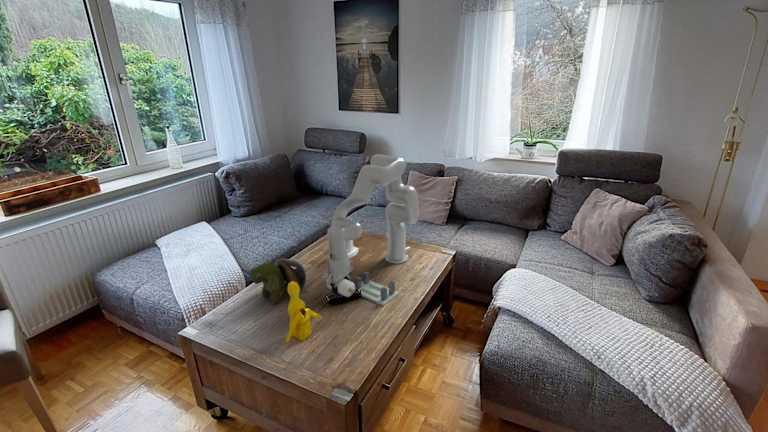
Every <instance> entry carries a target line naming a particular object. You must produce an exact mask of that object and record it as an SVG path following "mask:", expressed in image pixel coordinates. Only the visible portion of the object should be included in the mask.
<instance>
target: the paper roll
mask: <svg viewBox="0 0 768 432" xmlns="http://www.w3.org/2000/svg"><path fill="white" fill-rule="evenodd" d="M334 283H335V282H333V284H334ZM326 287H327V289H330V290H331V291H332V286H330V285H328V284H327V283H326ZM337 287H338V294H340V295H342V296H343V297H346V298H350V297H351V296H352V295H353V294H355V293H354V292H355V282H353V281H351V280H349V281H348V280H346V279H344V278H342V279H340V280H339V281H338V282H337Z"/></svg>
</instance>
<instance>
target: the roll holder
mask: <svg viewBox="0 0 768 432" xmlns="http://www.w3.org/2000/svg"><path fill="white" fill-rule="evenodd" d="M354 284H355V289H358V290H361V295H362V296H361V295H360V296H361V297H363V298H365V299H367V300H368V301H369V300H370V301H372V302H374V303H376V304H378V305H381V306H383V307H384V306H386V305H387V304H389V303H390V302H391V301H393V300H394V299H395V298H396V297H398V296H400V293H399V291H396V283H395V281H389V282H388V287H387V286H385V285H383V284H380V283H377V282H375V281H373V280H370V272H368V271H364V272H362V278H361V276H356V277H354Z"/></svg>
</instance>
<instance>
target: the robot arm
mask: <svg viewBox="0 0 768 432" xmlns="http://www.w3.org/2000/svg"><path fill="white" fill-rule="evenodd" d="M406 166H407V165H406V161H405V160H404V158H401V157H399V156H392V155H388V154H387V155H386V154H380V153H376V154H374V155H372V156H371V157H370V164H364V165H363V166H361V168H360V170H359V174H358V176H357V178H356V181H355V184H354V186H353V188H352V189H353V190H352V191H351V193H350V196H348V197H346V199H344V200H343V201H342V202H341V203H340V204H339V205H338V206H337V207H336V209H335V212H334V214H333V217H332V220H331V222H330V227H328V229H327V242H328V243H327V244H328V253H329V254H328V255H329V258H328V259H327V267H326V268H327V269H326V271H327V272H326V273H327V279H326V281H325V283H326V285H327V284H328V285H330V286H332V290H331V293H332V294H334V295H336V296H337V295H338V294H339V293H338V287H337V282H338V281H339V280H340V279H342V278H344V279H346V280H348V281H350V279H351V275H352V272H353V270H354V267H353V266H351V263H350V258H349V257H348V254H347V250H348V248H347V243H348V241H350V240H353V241H354V240H356V239H358V238H359V237H360V236H361V235H362V234H363V226H362V224H360V223H359V222H357V221H353V220H351V219H347V218H346V217H347V215H348V214H349V212H350V211H352V210H353V209H354V208H357V207H359V206H363V205H367V204H369V202H370V200H371V198H372V194H373V192H374V189H375V187H376V186H379V187H384V190H385V191H384V192H385V196H386V199H387V201H388V202H389V203H388V204H387V205H386V207H385V211H384V212H385V218H386V224H387V225H386V226H387V253H385V254H384V260H385V261H386V262H387V263H390V264H395V265H396V264H397V265H398V264H403V263H405V262H407V261H408V260H409V255H408V254H407V252H408V251H410V249H411V248H410V246H407V245H406V241H407V240H406V235H407V234H406V233H407V227H406V225H405V224H407V225H414V224H416V223H417V222H418V220H419V218H420V217H419V216H420V208H419V196H418V192H417V190H416V188H415V187H413V186H411V185H406V184H404V183H403V181H402V176H403V174H404V173H405V171H406ZM333 282H335V283H334V284H333Z"/></svg>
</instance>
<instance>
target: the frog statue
mask: <svg viewBox="0 0 768 432" xmlns="http://www.w3.org/2000/svg"><path fill="white" fill-rule="evenodd" d="M250 274H251V275H252V282H253V283H254V284H260V283H262V286H263V287H262V289H261V296H262V297H264V298H265V297H267V296H269V295H270V297H269V299H270V303H271V304H272V305H276V304H277V303H278V302H279V301H280V300H281V299H282V297H283V295H284V294H285V291H286V290H287V289H288V283H290V282H292V281H294V282H296V283H297V284H298V285H299V288H300V292H301V291H302V290H303V289H304V288H305V286H306V283H307V271H306V269H305V267H304V266H303V265H302V264H301V262H299V261H297V260H294V259H290V258H289V259H288V258H277V259H276V261H275V263H270V262H269V263H268V262H266V263H261V264H260V265H258V266H257V267H256V268H251V269H250Z"/></svg>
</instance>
